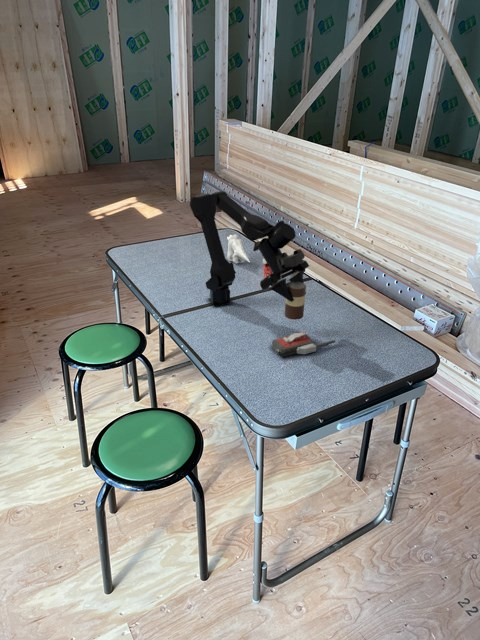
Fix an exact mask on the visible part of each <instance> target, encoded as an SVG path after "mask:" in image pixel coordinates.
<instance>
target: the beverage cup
mask: <svg viewBox="0 0 480 640" xmlns="http://www.w3.org/2000/svg"><path fill="white" fill-rule="evenodd" d="M262 263H263V264H262V265H263V266H262V267H263V279H265V278H266V277H267V276H268V275H270V274H273V272H272V270H271V269H270V267H266V266H265V264H266V263H267V262H266V261H265V259H264V258H263V259H262Z"/></svg>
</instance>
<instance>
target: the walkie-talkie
mask: <svg viewBox="0 0 480 640" xmlns="http://www.w3.org/2000/svg"><path fill="white" fill-rule="evenodd" d="M335 343H336V340H335V339H332V340H329V341H326V342H322V343H319V344H317V343H316V344H314V341H313V339H312V338H311V337H310V336H309V335H308V334H305V333H304V332H303V331H299V332H296V333H295V332H294V333H292V334H290V335H287V336H283V337H280V338H275V339H272V341H271V349H272V350H274V351H275V352H276V353H277V355H278V356H280V357H283V358H284V357H287V356H290V355H294V354H297V355H307V354H311V353H315V352H317V350H318V349H320V348H323V347H326V346H329V345H332V344H335Z"/></svg>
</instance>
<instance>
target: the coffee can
mask: <svg viewBox="0 0 480 640" xmlns="http://www.w3.org/2000/svg"><path fill="white" fill-rule="evenodd" d="M286 285H287V287H288V289H289V291H290V293H291V295H292V297H293V299H294V301H292V302H291V301H289V300H288V299H286V298H285V303H284V317H285V318H287V319H289V320H301V319H303V317H304V315H305V314H304V313H305V304H306V303H305V302H306V294H305V292H306V293H307V285H306V284H305V282H304V283H302V282H297V281H293V282H290V281H289V282H286Z"/></svg>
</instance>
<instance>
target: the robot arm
mask: <svg viewBox="0 0 480 640" xmlns="http://www.w3.org/2000/svg"><path fill="white" fill-rule="evenodd" d="M189 206H190V210H191V213H192V214H193V216H194V218H195V219H196V220H197V221H198V222H199V223H200V226H201V229H202V233H203V236H204V240H205V244H206V246H207V247H206V248H207V251H208V253H209V254H208V255H209V258H210V260H211V261H210V262H211V265H210V270H209V274H210V278H209V279H207V281H206V282H205V287H206V289H207V290H209V298H208V301H209V302H210V304H211V305H212V306H213V307H222V306H226V305H227V306H228V305H231V304H232V302H231V301H230V300H231V289H230V286H232V285H233V283H234V282H235V279H236V270H235V266H234V262H233V261H230V262H229V260H228V259H226V257H225V256H226V255H225V251H224V248H223V245H222V242H221V237H220V234H219V231H218V227H217V224H216V219H215V218H216V213H217V208H218V209H219V210H220V211H222V212H223V213H224V214H226V215H227V216H228V217H229V218H230V219H231V220H233V221H234V222H235V223H236V224H237V225H239V227H240V230H241V233H242V234H244V236H245V237H246V238H247V240H249V241H252V242H253V241H256V242H254V246H253V249H252V251H253V252H258V251H259V252H260V254H261V256H262V258H263V259H265V261H266V262H267V263H266V264H265V266H266V267H270V269H271V270H272V272H273V274H270V275H268V276H267V277H266V278H265V279H264V278H263V279H262V280H261V281H260V282H259V286H260V288H261V290H262V291H266V290H267V289H269V291H273V292H274V293H276V294H278V295H280V296H281V297H283V298H284V299H285V300H286V299H288V300H289V301H291V302H292V301H294V299H293V297H292V295H291V293H290V291H289V289H288V287H287V277H290V278H289V279H288V281H289V282H293V281H297V282H302V283H304V284H305V281H304V275H305V274H304V273H305V272H306V269H308V268H309V267H310V265H309V263H308V261H307V260H304V259H305V257H306V256H305V253H304V252H303V250H302V249H301V248H297V249H295V250H294V251H293V253H292V254H289V255H288V253H287V252H282V250H281V249H283V248H285V247H286V246H287V245H288V244H290V243H291V242H292V241H293V240H294V239H295V238H296V231H295V229H294V227H292V225H290V224H289V223H285V221H284V220H279V221H278V222H276V224H275V225H274V224H271V223H269V221H267V220H266V219H264V218H263V217H261V216H259V215H255V214H253V213H250V212H249V211H247V210H246V209H245V208H244V207H243V206H241V205H240V204H239V203H238V202H236V201H235V200H234V199H232V197H230V196H229V195H228V193H227V192H226V191H224V190H219V191H215V192H212V193H211V194H210V193H204V194H200V195H195V196H192V198H191V200H190V202H189ZM258 240H260V241H258ZM305 295H307V291H306V292H305Z"/></svg>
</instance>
